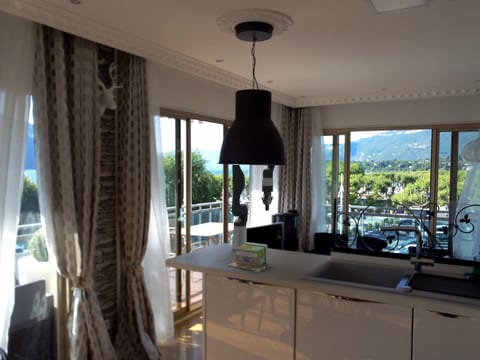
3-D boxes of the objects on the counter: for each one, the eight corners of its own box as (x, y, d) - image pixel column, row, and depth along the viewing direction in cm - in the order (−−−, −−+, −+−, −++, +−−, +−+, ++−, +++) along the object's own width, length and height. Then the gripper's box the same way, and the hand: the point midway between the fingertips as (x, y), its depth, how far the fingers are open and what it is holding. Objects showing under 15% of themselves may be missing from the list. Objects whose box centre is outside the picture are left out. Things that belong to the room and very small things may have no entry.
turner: (259, 272, 228) (259, 270, 228) (253, 271, 230) (253, 269, 230) (272, 266, 242) (272, 264, 242) (267, 265, 244) (267, 263, 244)
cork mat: (227, 266, 241) (227, 263, 241) (241, 261, 255) (241, 258, 255) (253, 270, 232) (254, 267, 232) (266, 265, 245) (266, 262, 245)
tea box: (267, 244, 248) (257, 251, 235) (268, 259, 249) (258, 267, 236) (246, 241, 255) (235, 248, 242) (246, 256, 256) (235, 264, 243)
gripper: (267, 184, 274) (266, 209, 275) (257, 184, 263) (257, 211, 263) (277, 184, 270) (276, 210, 271) (268, 185, 259) (267, 212, 259)
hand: (267, 210), depth 267 cm, fingers closed
